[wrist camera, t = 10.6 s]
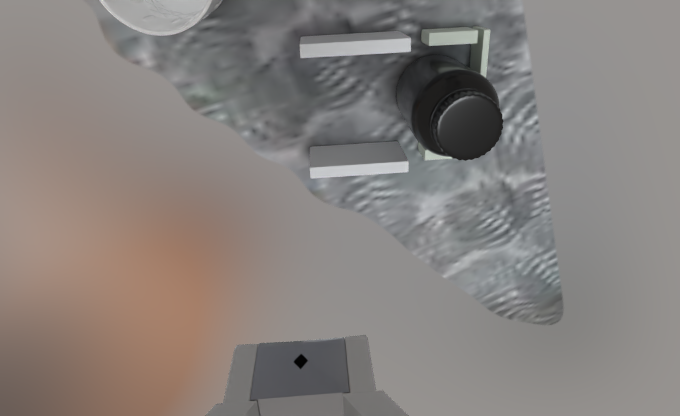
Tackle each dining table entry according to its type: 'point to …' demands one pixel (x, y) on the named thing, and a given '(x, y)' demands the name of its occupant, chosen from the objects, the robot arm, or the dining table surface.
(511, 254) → the dining table surface
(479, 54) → the dock
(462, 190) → the dining table surface
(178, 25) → the white cup
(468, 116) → the supplement bottle
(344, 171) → the channel
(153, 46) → the dining table surface
